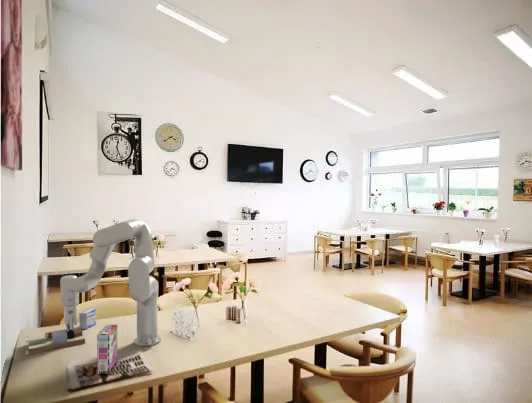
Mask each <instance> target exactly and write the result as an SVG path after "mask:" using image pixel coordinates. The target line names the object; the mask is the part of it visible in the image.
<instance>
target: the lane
mask: <svg viewBox="0 0 532 403" xmlns="http://www.w3.org/2000/svg"><path fill="white" fill-rule="evenodd" d="M64 330H66V331H67V328H64V329H60V330H55V331H48V332H45V333H44V337H40V338H35V339H30V337H29V336H25V356H27V355H32V354H39V353H43V352H48V351H52V350H54V351H55V350H58V349H63V348H68V347H73V346H77V345H78V346H79V345H82V344H86V338H78V339H72V340H67V342H63V343H58V344H48V345H42V346H37V347H33V348H30V346H33V345H39V344H44V343H45V344H46V343H48V342H50V341H51V342H52V333H53V332H58V331H64ZM76 337H83V331H82V330H79V331H74V338H76Z"/></svg>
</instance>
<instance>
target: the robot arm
mask: <svg viewBox="0 0 532 403" xmlns="http://www.w3.org/2000/svg"><path fill="white" fill-rule="evenodd" d="M132 238H134V259H132V260H131V261H130V263H129V264H128V268H127V275H128V288H129V290H128V291H129V296H130V298H132V300H134V302H136V337H135V338H134V339H133V344H134V345H135V346H138V347H151V346H154V345H156V344H159V343H160V342H161V341H162V337H161V336H160V335H159V334H158V296H159V283H158V280H157V279H156V278H155V277H154V276H151V275H150V274H151V272H152V271H154V269H155V266H156V265H155V256H154V255H155V254H154V253H155V252H154V245H153V244H154V243H153V234H152V230H151V228H150V227H149V225H148V224H146V222H144V221H142V220H139V219H136V218H135V219H128V220H124V221H121V222H117V223H115V224H113V225H110V226H107V227H104V228H100V229H98V230H96V232H95V233H94V234H93V236H92V242H93V246H92V248H91V251H90V252H89V254H88V255H89V259H91V264H90V266H89V269H88V270H87V272H86V273H85V274H83V275H81V276H77V275H75V274H68V275H64V276H62V277H60V282H59V283H60V284H59V285H60V306H61V307H63V317H64V323H65V327H66V329H67V331H66V332H67V341H70V340H75V337H74V332H75V327H74V326H78V316H77V314H78V313H77V305H78V304H79V293H80V294H81V293H83V294H84V293H86V292H88V291H90V290H91V289H93V288H95V287H96V286H97V285H98V284H99V283H100V281H101V279H102V277H103V275H104V273H105V271H106V267H107V262H108V260H109V257H110V256H111V253H112V252H113V250H114V248H115V246H116V244H118V243H120V242H124V241H127V240H130V239H132Z"/></svg>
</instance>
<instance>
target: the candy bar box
mask: <svg viewBox="0 0 532 403" xmlns="http://www.w3.org/2000/svg"><path fill="white" fill-rule="evenodd" d="M96 340H97V342H96V343H97V345H96V346H97V348H96V351H97V353H96V354H97V355H96V356H97V359H96V360H97V361H96V362H97V363H96V364H97V365H96V366H97V368H96V369H97V371H100V372H101V371H110V370H111V368H112V367H113V365H114V364H115V363H116V361H117V362H118V324H106V325H105V326H104V327H103V328H101V330H100V331H99V332H98V333H97V337H96ZM116 364H117V363H116ZM113 368H114V367H113ZM111 371H112V370H111Z"/></svg>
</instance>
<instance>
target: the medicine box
mask: <svg viewBox="0 0 532 403" xmlns="http://www.w3.org/2000/svg"><path fill="white" fill-rule="evenodd" d="M78 316H79V319H78V320H79V329H80V330H89V329H90V328H92V327H94V326H95V324H96V325H97V310H96V308H88V309H85V310H83V311H81V312H79V314H78ZM88 328H89V329H88Z"/></svg>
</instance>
